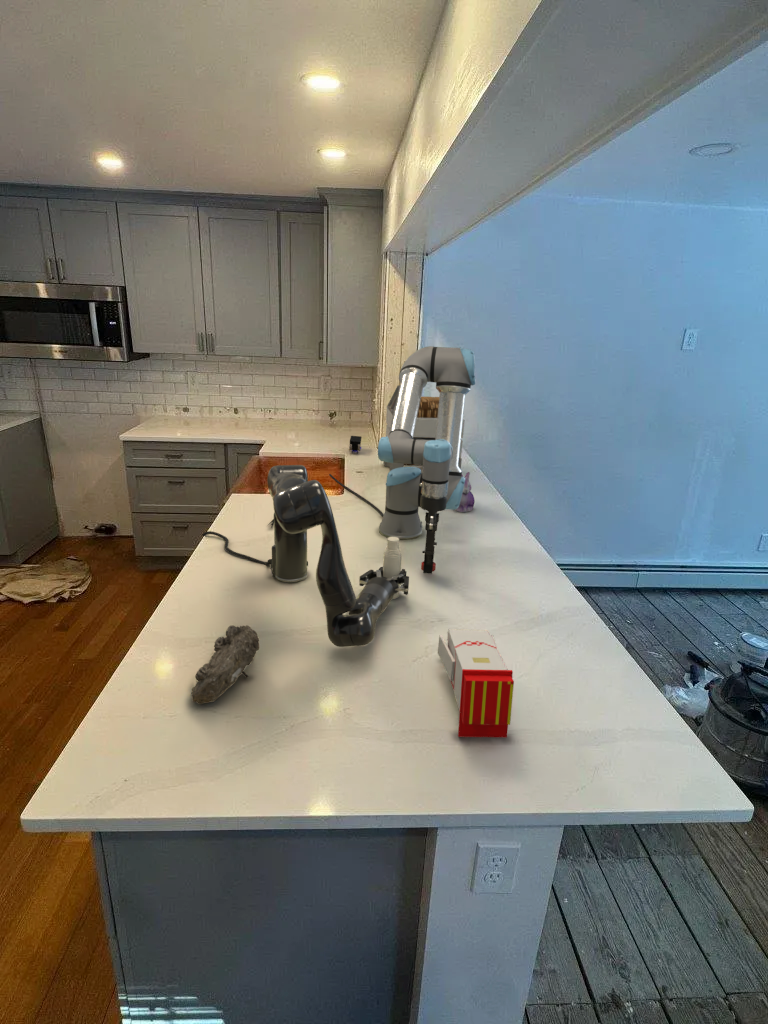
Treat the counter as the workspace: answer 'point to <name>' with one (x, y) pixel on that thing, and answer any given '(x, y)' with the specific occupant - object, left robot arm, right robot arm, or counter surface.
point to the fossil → (225, 663)
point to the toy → (478, 682)
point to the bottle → (392, 560)
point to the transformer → (419, 423)
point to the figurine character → (355, 444)
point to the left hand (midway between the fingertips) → (394, 570)
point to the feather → (272, 523)
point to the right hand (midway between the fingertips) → (428, 569)
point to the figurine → (466, 497)
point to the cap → (433, 566)
